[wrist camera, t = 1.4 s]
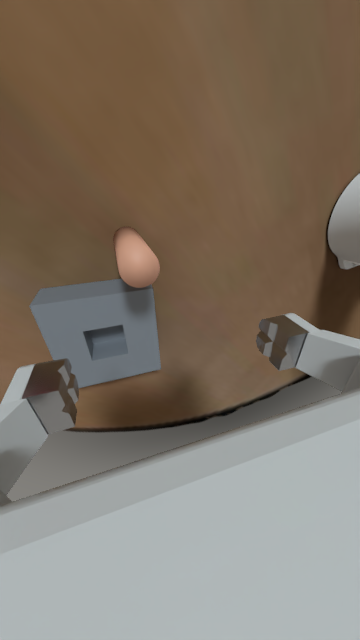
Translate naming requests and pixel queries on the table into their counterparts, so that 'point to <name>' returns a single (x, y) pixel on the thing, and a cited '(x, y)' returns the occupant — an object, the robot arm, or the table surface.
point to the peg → (135, 258)
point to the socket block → (100, 329)
